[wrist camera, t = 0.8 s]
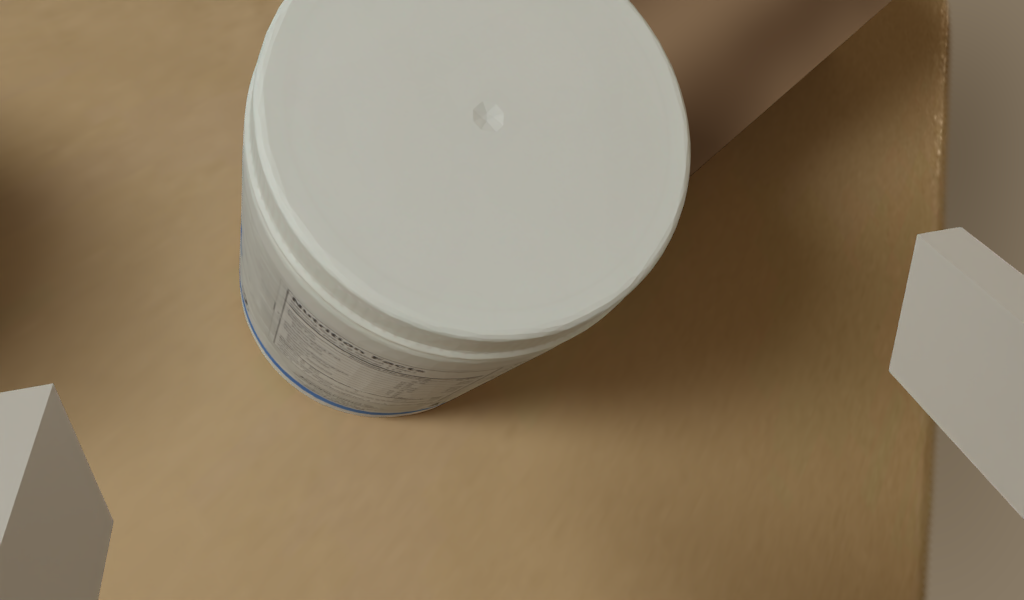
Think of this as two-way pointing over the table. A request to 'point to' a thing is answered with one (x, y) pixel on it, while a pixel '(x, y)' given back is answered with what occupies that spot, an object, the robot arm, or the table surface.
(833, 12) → the block
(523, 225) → the supplement tub
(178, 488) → the table surface
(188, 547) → the table surface
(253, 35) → the table surface
